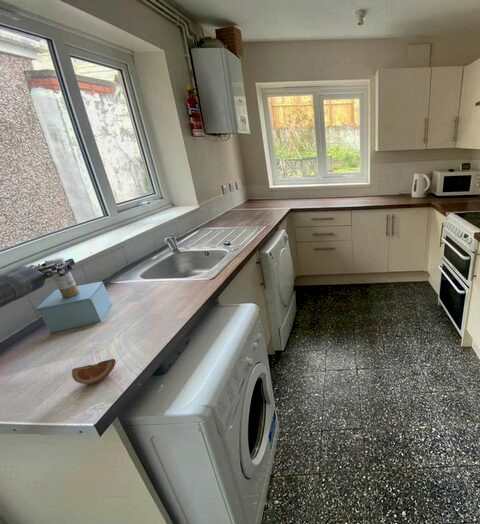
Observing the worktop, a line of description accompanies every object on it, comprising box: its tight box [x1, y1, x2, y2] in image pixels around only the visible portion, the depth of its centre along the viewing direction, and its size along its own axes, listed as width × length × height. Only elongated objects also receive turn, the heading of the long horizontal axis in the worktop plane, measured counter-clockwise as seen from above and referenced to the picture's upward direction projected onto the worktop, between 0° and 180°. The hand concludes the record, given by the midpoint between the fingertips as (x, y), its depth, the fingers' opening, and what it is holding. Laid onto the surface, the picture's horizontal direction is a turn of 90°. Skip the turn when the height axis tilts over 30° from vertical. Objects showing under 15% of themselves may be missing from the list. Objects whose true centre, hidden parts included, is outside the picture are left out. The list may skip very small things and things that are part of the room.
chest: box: [38, 283, 112, 334], centre depth 101 cm, size 14×14×9 cm
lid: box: [35, 281, 104, 312], centre depth 99 cm, size 14×14×1 cm
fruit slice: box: [71, 358, 117, 385], centre depth 73 cm, size 8×7×5 cm
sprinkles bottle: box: [44, 255, 79, 297], centre depth 95 cm, size 5×5×13 cm
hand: (63, 262), depth 96 cm, fingers open, 5 cm apart
